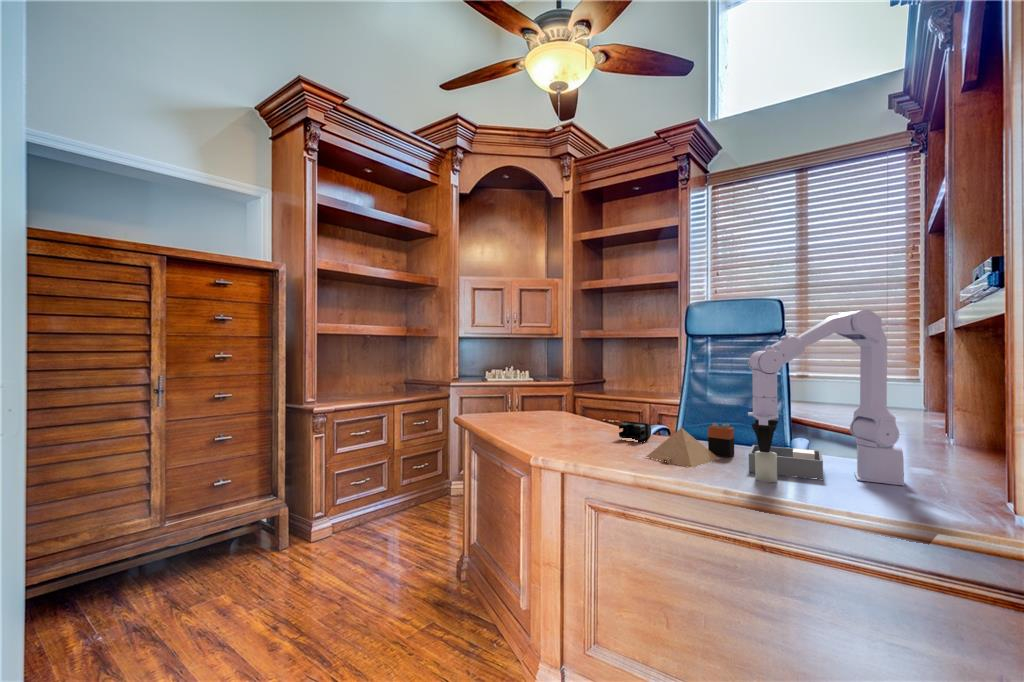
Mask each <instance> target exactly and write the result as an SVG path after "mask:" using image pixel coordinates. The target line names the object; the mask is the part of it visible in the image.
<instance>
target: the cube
mask: <svg viewBox="0 0 1024 682" xmlns="http://www.w3.org/2000/svg"><path fill="white" fill-rule="evenodd" d="M793 458H802V459H813V460H815V454H814V449H802V448H793Z"/></svg>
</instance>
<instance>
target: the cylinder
mask: <svg viewBox="0 0 1024 682" xmlns="http://www.w3.org/2000/svg"><path fill="white" fill-rule="evenodd" d="M754 473H755V475H754V476H755V481H758V480H759V481H758V482H761V481H763V482H762V483H768V482H774V483H777V482H778V475H777V453H774V452H770V451H769V453H767V452H760V451H756V452H755V472H754ZM776 481H777V482H776Z"/></svg>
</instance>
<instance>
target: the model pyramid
mask: <svg viewBox="0 0 1024 682" xmlns="http://www.w3.org/2000/svg"><path fill="white" fill-rule="evenodd" d="M645 457H649V458H653V459H658V460H661V461H662V462H661V461H660V462H661V463H663V462H665V461H666V462H667V463H670V464H671V463H675V464H679V465H678V466H680V465H684V466H683V467H685V466H688V467H687V468H689V467H693V468H695V467H694V466H697V467H699V466H698V465H700V466H702V465H701V464H703V465H706V464H709V463H712V462H711V461H713V462H715V460H716V461H719V460H720V458H719V456H716V455H714V454H713V453H712V452H711V451H709V450H708V448H707V447H706V446H705V445H703V444H702V443H701V442H700V441H698V440H697V439H696V438H695V437H694V436H692V435H691V434H690V433H689V432H688V431H686V430H685V429H684V428H683V427H680V428H679V429H678V430H677V431H675V432H674V433H673V434H672V435H671V436H669V437H668V438H667V439H666V440H665V441H664V442H662V443H661V444H660V445H659V446H657V447H656V448H654V450H653V451H651V452H650V453H648V454H647V455H646V456H645ZM666 462H665V463H666ZM708 462H709V463H708ZM667 463H666V464H667ZM705 463H706V464H705ZM675 464H674V465H675Z"/></svg>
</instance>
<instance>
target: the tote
mask: <svg viewBox="0 0 1024 682" xmlns="http://www.w3.org/2000/svg"><path fill="white" fill-rule="evenodd" d="M793 449H794V448H791V447H779V446H771V447H770V452H774V453H777V476H781V475H788V476H787V477H790V476H797V477H796V478H798V477H806V478H805V479H807V478H817V479H823V480H824V459H823V454H822V451H821V450H814V449H813V450H814V454H815V460H813V459H802V458H793ZM756 451H760V450H759V446H758V444H752V445H751V448H750V450H749V451H748V472H749V473H755V452H756Z"/></svg>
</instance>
